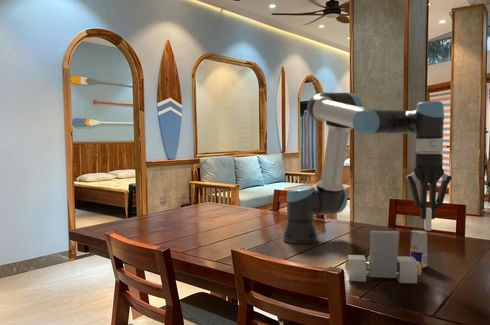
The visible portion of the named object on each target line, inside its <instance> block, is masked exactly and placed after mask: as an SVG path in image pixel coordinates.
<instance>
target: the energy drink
mask: <svg viewBox="0 0 490 325" xmlns="http://www.w3.org/2000/svg"><path fill="white" fill-rule="evenodd" d="M409 236H410V241H409V242H410V243H409V246H410V248H409V249H410V250H409V251H410V252H409V254H410V255H409V257H414V258H415V259H416V261H417V262H420V263H421V269H425V268H427V267H428V232H427V230H421V229H413V230H411V231H410V235H409Z"/></svg>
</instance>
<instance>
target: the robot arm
mask: <svg viewBox="0 0 490 325" xmlns="http://www.w3.org/2000/svg"><path fill="white" fill-rule="evenodd" d="M306 107H307V113H308V114H309V116H310V118H311V119H313V120H315V121H318V122H325V125H326V126H327V127H328V132H327V138H326V145H325V151H324V158H323V159H324V160H323V166H322V172H321V179H320V180H319V181H317V183H316V188H314V186H312V185H300V186H295V187H291V188H289V189H288V190H287V192H286V225H285V228H284V232H283V235H282V240H283V241H284V242H286V243H288V244H294V245H310V244H315V243H317V242H318V241H319V234H318V231H317V228H316V226H315V221H314V220H315V216H320V215H321V216H322V215H334V214H339V213H342V212H343V211H344V210H345V209H346V206H347V204H348V196H347V195H348V194H347V191H346V189H345V188H344V185H343V184H342V179H343V178H342V177H343V171H344V166H345V162H346V161H345V160H346V153H347V148H348V143H349V136H350V131H351V130H355V131H356V133H358V134H361V135H362V134H364V135H373V134H374V135H377V134H383V135H384V134H388V135H389V134H391V135H392V134H397V135H398V134H399V135H404V134H415V135H416V136H415V151H416V152H417V153H416V154H415V165H414V166H415V167H414V169H413V172H412V173H410V174H408V175H406V176H405V178H406V180H407V182H408V184H409V187H410V192H411V195H412V200H413V204H414V206H416V207H418V208H420V218H421V219H422V220H423V229H424V231H432V220H435V218H436V209H437V208H441V207H442V206H443V202H444V200H445V196H446V194H447V190H448V189H447V188H448V186H449V183H450V182H451V180H453V177H452V176H451V175H449V174H446V173H445V170H444V168H443V163H444V162H443V158H444V156H443V153H442V152H443V151H444V122H445V110H444V104H443V102H441V101H438V100H437V101H436V100H434V101H433V100H432V101H429V100H428V101H420V102H417V103H416V108H415V109H403V110H401V109H396V110H395V109H387V110H384V109H373V108H368V107H363V103H362V101H361V99H360V97H359V96H358V95H357V94H355V93H350V92H319V93H317V94H315V95H313V96H312V97H311V98H310V99H309V100H308V103H307V106H306ZM416 179H418V181H419V182H420V183H419V185H420V197H419V193H418V189H417V185H416ZM440 179H441V183H440V185H439V189H438V193H437V186H438V185H437V184H438V182H439V180H440ZM428 187H429V193H428ZM428 194H429V195H428ZM427 200H429V201H427ZM427 202H428V205H429V206H428V207H427Z"/></svg>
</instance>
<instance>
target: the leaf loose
mask: <svg viewBox="0 0 490 325" xmlns="http://www.w3.org/2000/svg"><path fill="white" fill-rule="evenodd" d="M369 240H370V241H369V242H370V243H369V255H368V256H367V259H366V262H369V271H368V274H369V276H368V277H369V278H383V279H384V278H385V279H386V278H387V279H391V278H392V279H397V277H396V271H397V258H398V256H399V246H400V245H399V244H400V243H399V242H400V231H399V230H370V239H369Z"/></svg>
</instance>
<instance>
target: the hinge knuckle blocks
mask: <svg viewBox="0 0 490 325" xmlns="http://www.w3.org/2000/svg"><path fill="white" fill-rule="evenodd" d="M347 261H349V270H346V273H347V276H348V280H349V282H367V277H369V274H368V271H366V262H367V258H366V257H365V255H364V254H363V255H362V254H361V255H360V254H348V255H347ZM397 263H400V272H396V279H397V281H398V282H399V283H400V284H418V274H417V261H416V259H415V258H414V257H410V256H399V255H398V258H397Z"/></svg>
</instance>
